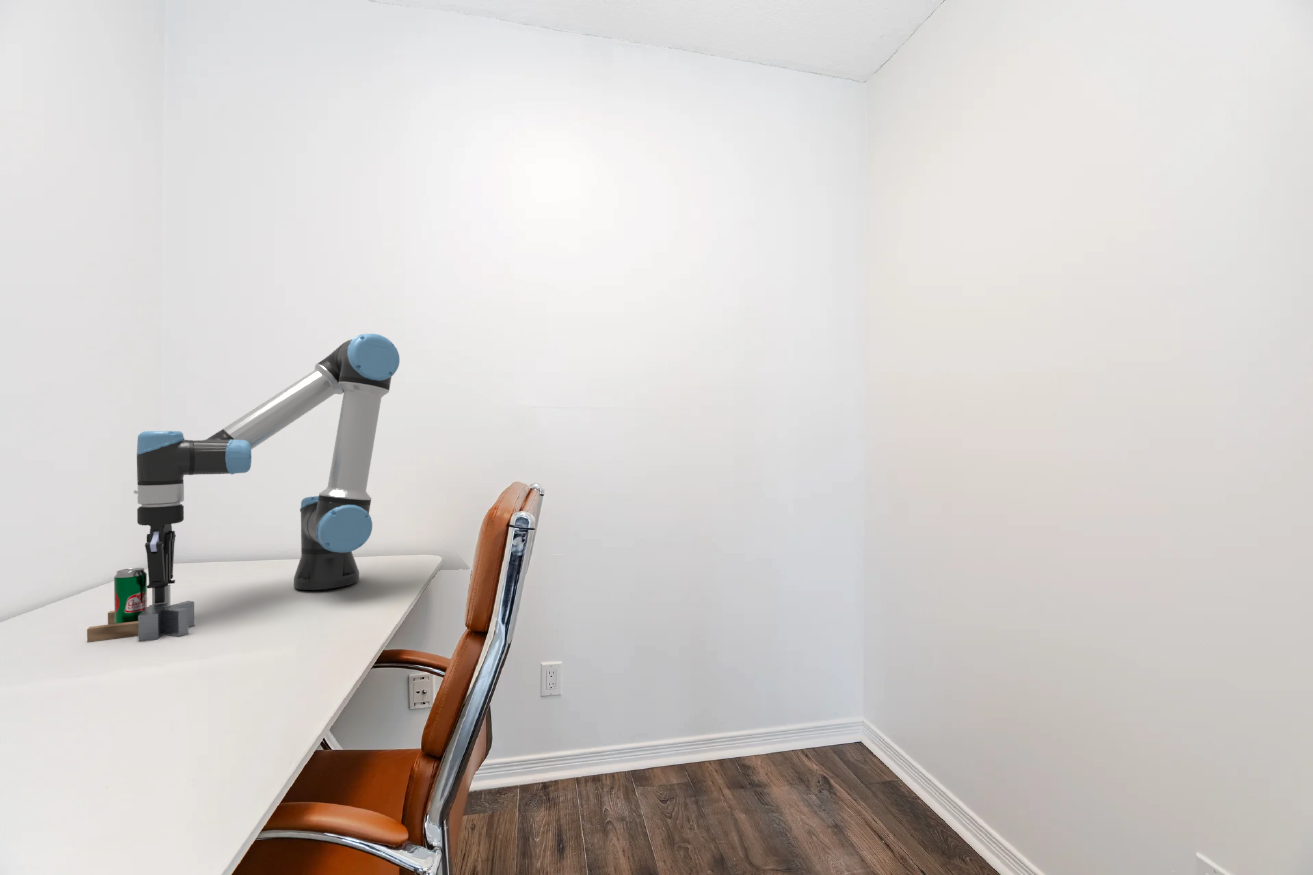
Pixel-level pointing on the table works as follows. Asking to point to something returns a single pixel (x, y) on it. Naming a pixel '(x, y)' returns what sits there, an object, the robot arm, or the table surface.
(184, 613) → the v block
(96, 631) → the channel
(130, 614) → the soda can
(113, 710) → the table surface
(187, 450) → the robot arm
